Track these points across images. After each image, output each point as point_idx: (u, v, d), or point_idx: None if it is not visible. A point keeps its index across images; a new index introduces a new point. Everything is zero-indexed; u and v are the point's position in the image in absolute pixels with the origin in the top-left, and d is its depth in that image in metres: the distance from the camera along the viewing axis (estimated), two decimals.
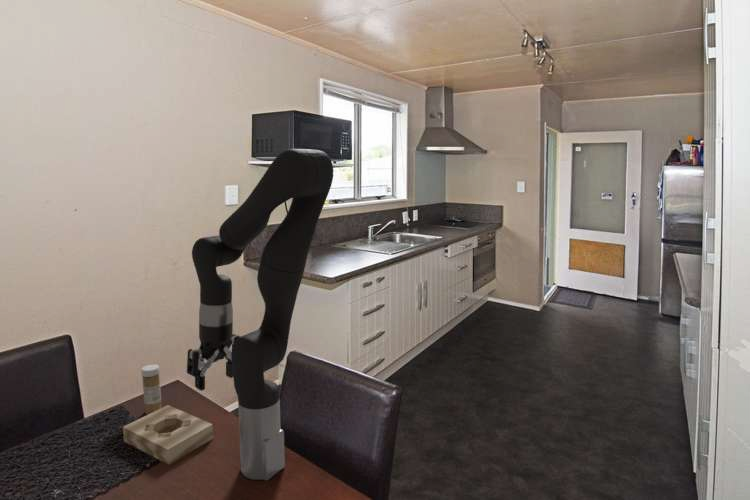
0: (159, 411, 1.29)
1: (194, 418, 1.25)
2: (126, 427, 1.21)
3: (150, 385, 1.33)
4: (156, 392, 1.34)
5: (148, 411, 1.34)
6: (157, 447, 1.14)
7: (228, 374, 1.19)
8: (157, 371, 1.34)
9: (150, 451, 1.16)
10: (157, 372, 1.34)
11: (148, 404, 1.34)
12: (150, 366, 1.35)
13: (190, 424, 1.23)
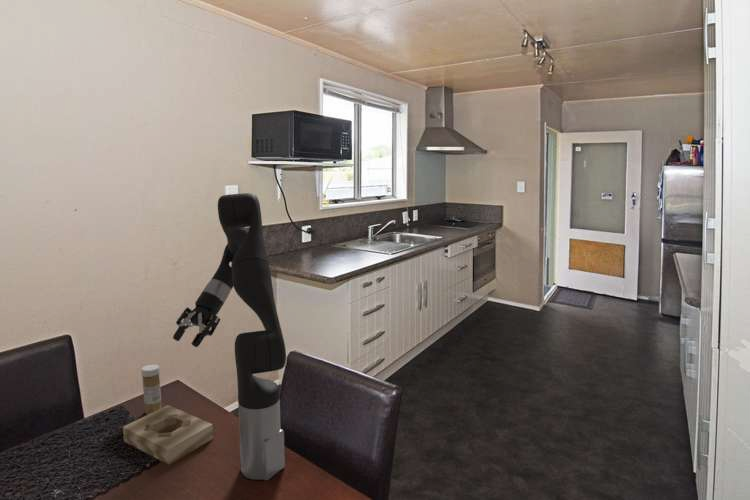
0: (159, 411, 1.29)
1: (194, 418, 1.25)
2: (126, 427, 1.21)
3: (150, 385, 1.33)
4: (156, 392, 1.34)
5: (148, 411, 1.34)
6: (157, 447, 1.14)
7: None
8: (157, 371, 1.34)
9: (150, 451, 1.16)
10: (157, 372, 1.34)
11: (148, 404, 1.34)
12: (150, 366, 1.35)
13: (190, 424, 1.23)
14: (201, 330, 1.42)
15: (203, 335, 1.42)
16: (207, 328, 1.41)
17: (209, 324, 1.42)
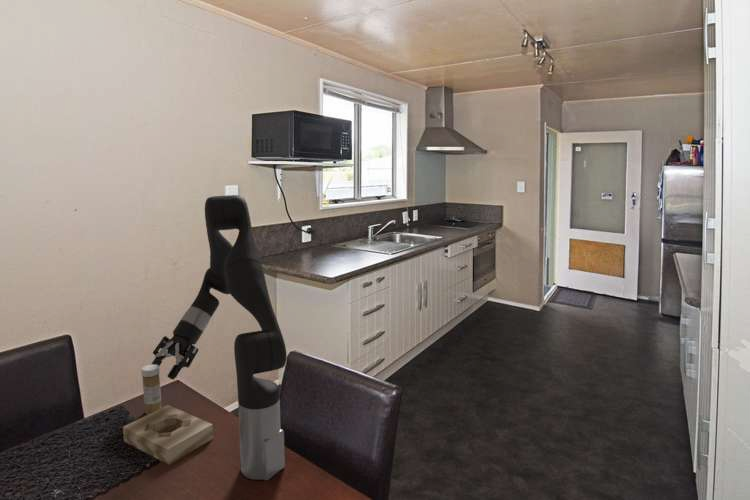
0: (159, 411, 1.29)
1: (194, 418, 1.25)
2: (126, 427, 1.21)
3: (150, 385, 1.33)
4: (156, 392, 1.34)
5: (148, 411, 1.34)
6: (157, 447, 1.14)
7: None
8: (157, 371, 1.34)
9: (150, 451, 1.16)
10: (157, 372, 1.34)
11: (148, 404, 1.34)
12: (150, 366, 1.35)
13: (190, 424, 1.23)
14: (178, 362, 1.36)
15: (180, 367, 1.36)
16: (184, 360, 1.36)
17: (186, 355, 1.36)
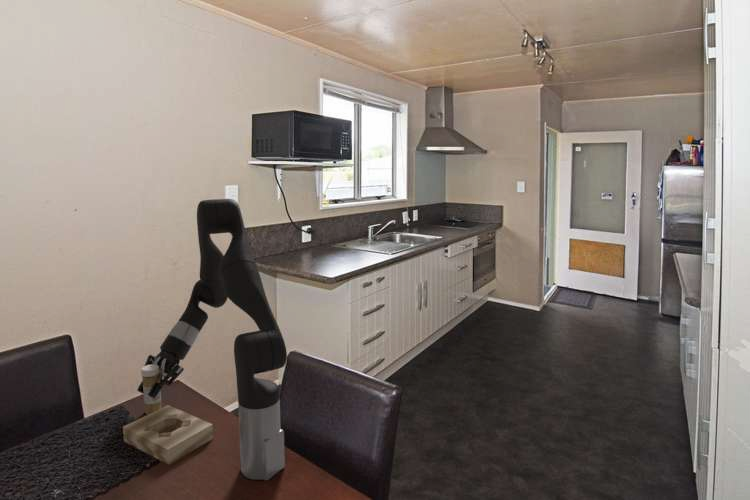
0: (159, 411, 1.29)
1: (194, 418, 1.25)
2: (126, 427, 1.21)
3: (150, 385, 1.33)
4: None
5: (148, 411, 1.34)
6: (157, 447, 1.14)
7: None
8: (157, 371, 1.34)
9: (150, 451, 1.16)
10: (157, 372, 1.34)
11: (148, 403, 1.34)
12: (150, 366, 1.35)
13: (190, 424, 1.23)
14: (159, 380, 1.33)
15: (161, 385, 1.34)
16: (165, 378, 1.33)
17: (168, 374, 1.33)
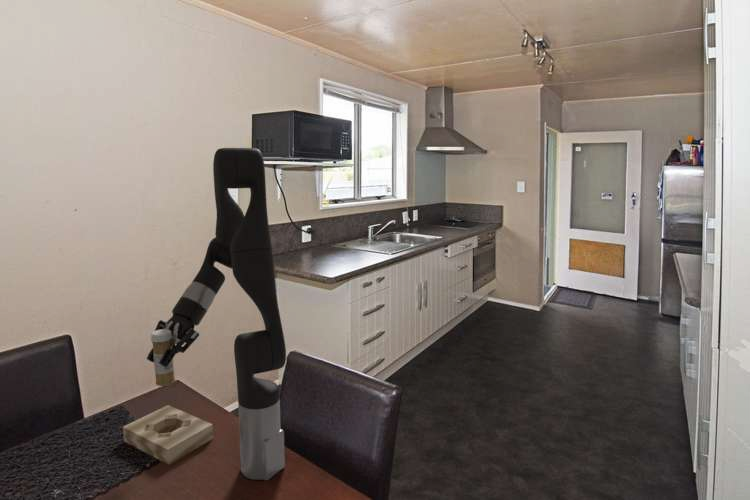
0: (159, 411, 1.29)
1: (194, 418, 1.25)
2: (126, 427, 1.21)
3: (161, 352, 1.16)
4: None
5: (159, 382, 1.18)
6: (157, 447, 1.14)
7: None
8: (169, 336, 1.17)
9: (150, 451, 1.16)
10: (169, 337, 1.17)
11: (159, 373, 1.17)
12: (161, 331, 1.18)
13: (190, 424, 1.23)
14: (171, 346, 1.17)
15: (174, 352, 1.17)
16: (178, 343, 1.17)
17: (182, 340, 1.17)
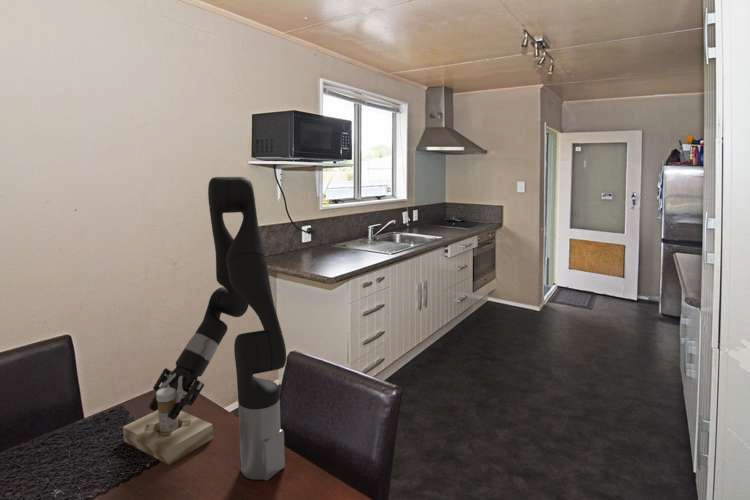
0: None
1: (194, 418, 1.25)
2: (126, 427, 1.21)
3: (166, 411, 1.19)
4: None
5: None
6: (157, 447, 1.14)
7: None
8: (174, 395, 1.20)
9: (150, 451, 1.16)
10: (174, 396, 1.20)
11: (164, 432, 1.20)
12: (166, 390, 1.21)
13: (190, 424, 1.23)
14: (179, 399, 1.19)
15: (182, 405, 1.19)
16: (186, 397, 1.19)
17: (189, 392, 1.19)
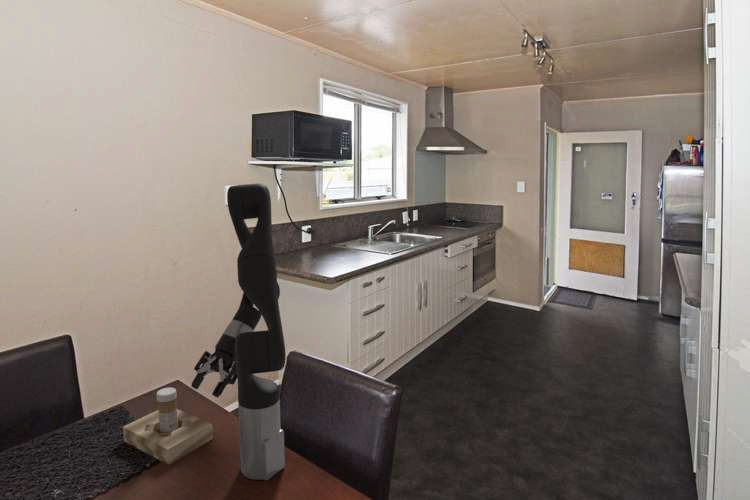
0: None
1: (194, 418, 1.25)
2: (126, 427, 1.21)
3: (166, 411, 1.19)
4: (173, 419, 1.20)
5: None
6: (157, 447, 1.14)
7: None
8: (174, 395, 1.20)
9: (150, 451, 1.16)
10: (174, 397, 1.20)
11: (164, 432, 1.20)
12: (166, 390, 1.21)
13: (190, 424, 1.23)
14: (222, 379, 1.30)
15: (225, 384, 1.30)
16: (229, 376, 1.29)
17: (231, 372, 1.30)
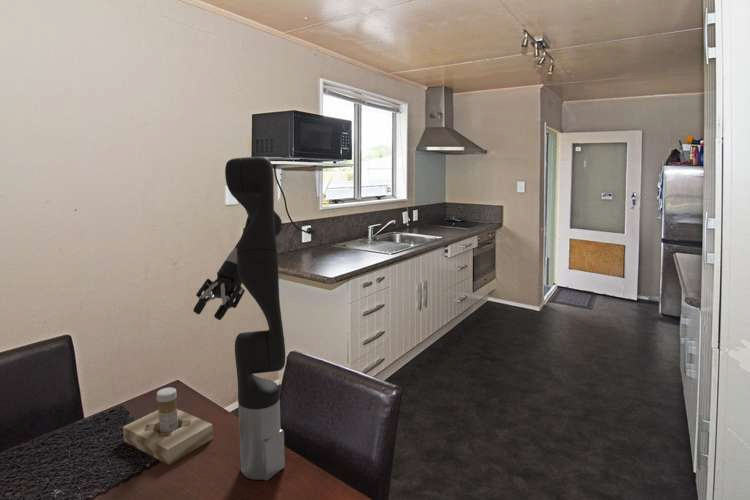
0: None
1: (194, 418, 1.25)
2: (126, 427, 1.21)
3: (166, 411, 1.19)
4: (173, 419, 1.20)
5: None
6: (157, 447, 1.14)
7: None
8: (174, 395, 1.20)
9: (150, 451, 1.16)
10: (174, 397, 1.20)
11: (164, 432, 1.20)
12: (166, 390, 1.21)
13: (190, 424, 1.23)
14: (224, 301, 1.30)
15: (227, 307, 1.30)
16: (231, 299, 1.30)
17: (233, 295, 1.30)
